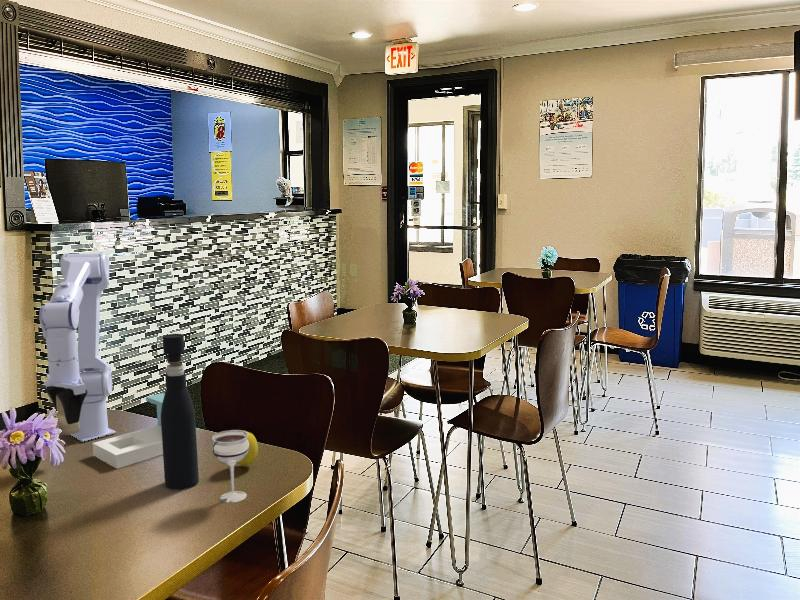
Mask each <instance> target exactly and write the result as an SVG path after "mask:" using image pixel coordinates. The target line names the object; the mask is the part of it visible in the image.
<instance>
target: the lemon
mask: <svg viewBox="0 0 800 600" xmlns="http://www.w3.org/2000/svg"><path fill="white" fill-rule="evenodd" d="M244 431H245V432H247V433H248V438H247V440H248V441H249V450H248V453H247V455H246V456H245V457H244V458H243V459H242V460H241V461H239V462H236V464H238V465H240V466H242V467H244V468H248V466H249V465H251V464H252V463H254V462H255V461H256V459H257V457H258V453H259V445H258V441H257V439H256V437H255V435H254V434H253V433H252V432H249V431H246V430H244Z"/></svg>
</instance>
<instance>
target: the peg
mask: <svg viewBox="0 0 800 600" xmlns="http://www.w3.org/2000/svg"><path fill="white" fill-rule="evenodd" d="M56 404H57V411H58V414H56V416H57V422H58V424H57V425H58V430H59V429H61V430H62V432H61V433H60V434H59V435H61V436H70V434H75V433H77V432H79V431H80V426H79V422H77V423H73V424H68V423H67V421H66V418H65V413H64V409H63V406H62V403H61V401H60V400H59V398H58V397H57V396H56Z"/></svg>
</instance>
